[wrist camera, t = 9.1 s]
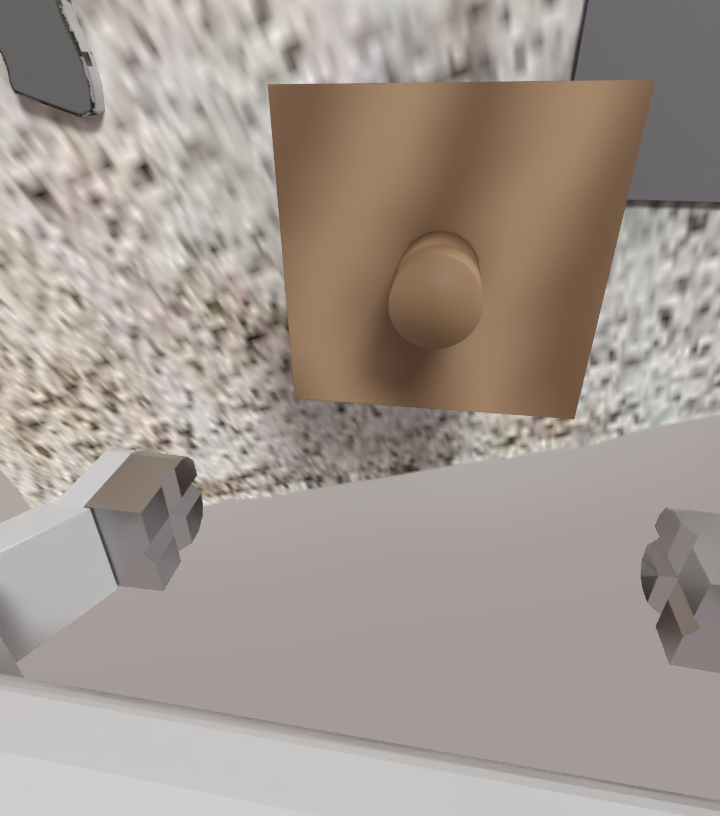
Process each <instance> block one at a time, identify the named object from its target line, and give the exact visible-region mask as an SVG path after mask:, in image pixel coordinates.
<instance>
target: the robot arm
mask: <svg viewBox="0 0 720 816" xmlns="http://www.w3.org/2000/svg"><path fill="white" fill-rule="evenodd" d="M196 476H197V473H196V469H195V465H194V461H193V460H191V459H190V458H188V457H184V456H177V455H169V454H161V453H154V452H146V451H135V450H127V449H119V448H113V449H109V450H106V451H105V452H104V453H103V454H102V455H101V456H100V457H99V458H98V459H97V460H96V461H95V462H94V463H93V464H92V466H91V467H90V468H89V469H88V470H87V471H86V472H85V473H84V474H83V475H82V476H81V477H80V478H79V479H78V480H77V481H76V482H75V483H74V484H73V485H72V486H71V487H70V488H69V489H68V490H67V491H66V492H65V493H64V494H63V495H62V496H61V497H60V498H59V499H58V500H57V501H56V502H55V503H54V504H50V503H44V504H42V505H40V506H38V507H35V508H33V509H31V510H29V511H26V512H24V513H22V514H20V515H18V516H15V517H13V518H11V519H8V520H7V521H4V522H2V523H0V816H720V801H719V800H713V799H708V798H701V797H696V796H691V795H685V794H679V793H674V792H668V791H662V790H657V789H651V788H645V787H640V786H634V785H628V784H623V783H617V782H610V781H605V780H600V779H594V778H588V777H583V776H577V775H571V774H566V773H560V772H554V771H548V770H542V769H537V768H532V767H526V766H520V765H515V764H509V763H504V762H497V761H492V760H486V759H480V758H475V757H469V756H463V755H458V754H452V753H446V752H441V751H435V750H430V749H424V748H418V747H413V746H407V745H401V744H396V743H390V742H384V741H379V740H373V739H367V738H362V737H356V736H350V735H344V734H339V733H333V732H327V731H322V730H316V729H311V728H305V727H299V726H294V725H288V724H282V723H277V722H271V721H265V720H260V719H254V718H248V717H243V716H236V715H232V714H226V713H220V712H215V711H209V710H203V709H198V708H192V707H186V706H180V705H175V704H169V703H164V702H158V701H152V700H147V699H141V698H135V697H130V696H124V695H118V694H113V693H107V692H102V691H96V690H90V689H84V688H79V687H73V686H67V685H61V684H56V683H51V682H45V681H39V680H34V679H28V678H24V676H23V674H22V672H21V671H20V669H19V667H18V666H17V664H16V663H17V662H18V661H19V660H21V659H22V658H23V657H25V656H26V655H28V654H29V653H30V652H32V651H33V650H34V649H36V648H37V647H38V646H40V645H41V644H43V643H44V642H45V641H47V640H48V639H49V638H51V637H52V636H53V635H55V634H56V633H58V632H59V631H60V630H61V629H63V628H64V627H66V626H67V625H68V624H70V623H71V622H73V621H74V620H75V619H77V618H78V617H79V616H81V615H82V614H84V613H85V612H86V611H87V610H89V609H90V608H92V607H93V606H94V605H96V604H97V603H99V602H100V601H101V600H103V599H104V598H105V597H106V596H108V595H109V594H111V593H112V592H113V591H115V590H116V589H117V588H118V586H126V587H135V588H143V589H152V590H161V591H164V589H165V587H166V585H167V584H168V582H169V581H170V578H171V577H172V576H173V574H174V572H175V571H176V569H177V567H178V566H179V564H180V562H181V560H180V556H179V552H178V551H180V550H181V549H183V548H184V547H186V546H188V545H189V544H191V543H192V542H193V540H194V538H195V536H196V535H197V533H198V531H199V527H200V524H201V520H202V516H203V513H202V512H203V502H202V497H201V493H200V492H199V491H198V490H197V489H196V488H195V487H194V486H193V485H192V484H191V483H192V482H193V480H194V479H195V477H196ZM655 527H656V530H657V532H658V534H659V537H660V538H658V539H657V540H655V541H654V542H652V543H650V544H649V545H647V547H646V550H645V553H644V555H643V558H642V564H641V565H642V566H641V581H642V588H643V592H644V595H645V598H646V600H647V603H648V604H649V605H650V606H652V607H653V608H654V609H655V610H656V611H657V612H658V613H659V614H660V618H659V620H658V622H657V624H656V629H657V631H658V634H659V637H660V640H661V642H662V645H663V648H664V651H665V654H666V656H667V659H668V662H669V664H670V665H676V666H682V667H689V668H694V669H700V670H706V671H711V672H717V673H720V514H719V513H710V512H700V511H690V510H680V509H670V508H665V510H663V512H662V513H661V514H660V515H659V517H658V520H657V522H656V524H655Z"/></svg>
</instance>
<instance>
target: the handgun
mask: <svg viewBox="0 0 720 816" xmlns="http://www.w3.org/2000/svg"><path fill="white" fill-rule="evenodd" d="M0 53H1V54H2V56H3V58H4V61H5V63H6V66H7V70H8V77H9V81H10V84H11V87H12V89H13V91H14V92H15V94H18V95H21V96H23V97H26V98H29V99H32V100H35V101H37V102H40V103H43V104H46V105H48V106H51V107H54V108H57V109H60V110H62V111H65V112H68V113H71V114H74V115H76V116H79V117H89V116H97V115H99V114H101V113H102V112H104V111H105V104H104V94H103V87H102V83H101V79H100V76H99V72H98V69H97V66H96V63H95V60H94V58H93V55H92V52H91V50H90V47H89V45H88V43H87V40H86V38H85V36H84V34H83V32H82V29H81V27H80V25H79V23H78V21H77V18H76V16H75V13H74V10H73V6H72V3H71V0H0Z"/></svg>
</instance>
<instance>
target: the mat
mask: <svg viewBox="0 0 720 816" xmlns="http://www.w3.org/2000/svg"><path fill="white" fill-rule="evenodd" d="M599 80H656V81H655V85H654V89H653V93H652V98H651V102H650V106H649V110H648V114H647V118H646V122H645V127H644V131H643V135H642V139H641V143H640V147H639V152H638V156H637V160H636V164H635V168H634V172H633V177H632V181H631V185H630V189H629V193H628V197H627V199H629V200H663V201H697V202H720V0H588V1H587V6H586V12H585V17H584V23H583V28H582V34H581V39H580V45H579V50H578V56H577V61H576V67H575V72H574V78H573V81H599Z"/></svg>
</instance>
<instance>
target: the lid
mask: <svg viewBox="0 0 720 816" xmlns="http://www.w3.org/2000/svg"><path fill="white" fill-rule="evenodd" d="M655 81H656V80H599V81H516V82H434V83H351V84H268V92H269V103H270V115H271V126H272V138H273V150H274V161H275V173H276V185H277V196H278V208H279V220H280V231H281V243H282V254H283V266H284V278H285V289H286V301H287V313H288V324H289V336H290V347H291V359H292V371H293V382H294V394H295V398H296V399H310V400H323V401H337V402H350V403H364V404H377V405H391V406H404V407H418V408H431V409H445V410H458V411H472V412H485V413H499V414H512V415H526V416H539V417H553V418H566V419H574V418H575V414H576V410H577V405H578V401H579V397H580V393H581V389H582V385H583V380H584V376H585V372H586V368H587V364H588V360H589V356H590V351H591V347H592V343H593V339H594V335H595V331H596V326H597V322H598V318H599V314H600V310H601V306H602V301H603V297H604V293H605V289H606V285H607V281H608V276H609V272H610V268H611V264H612V260H613V256H614V251H615V247H616V243H617V239H618V235H619V231H620V227H621V222H622V218H623V214H624V210H625V206H626V202H627V197H628V193H629V189H630V185H631V181H632V177H633V172H634V168H635V164H636V160H637V156H638V152H639V147H640V143H641V139H642V135H643V131H644V127H645V122H646V118H647V114H648V110H649V106H650V102H651V98H652V93H653V89H654V85H655Z"/></svg>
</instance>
